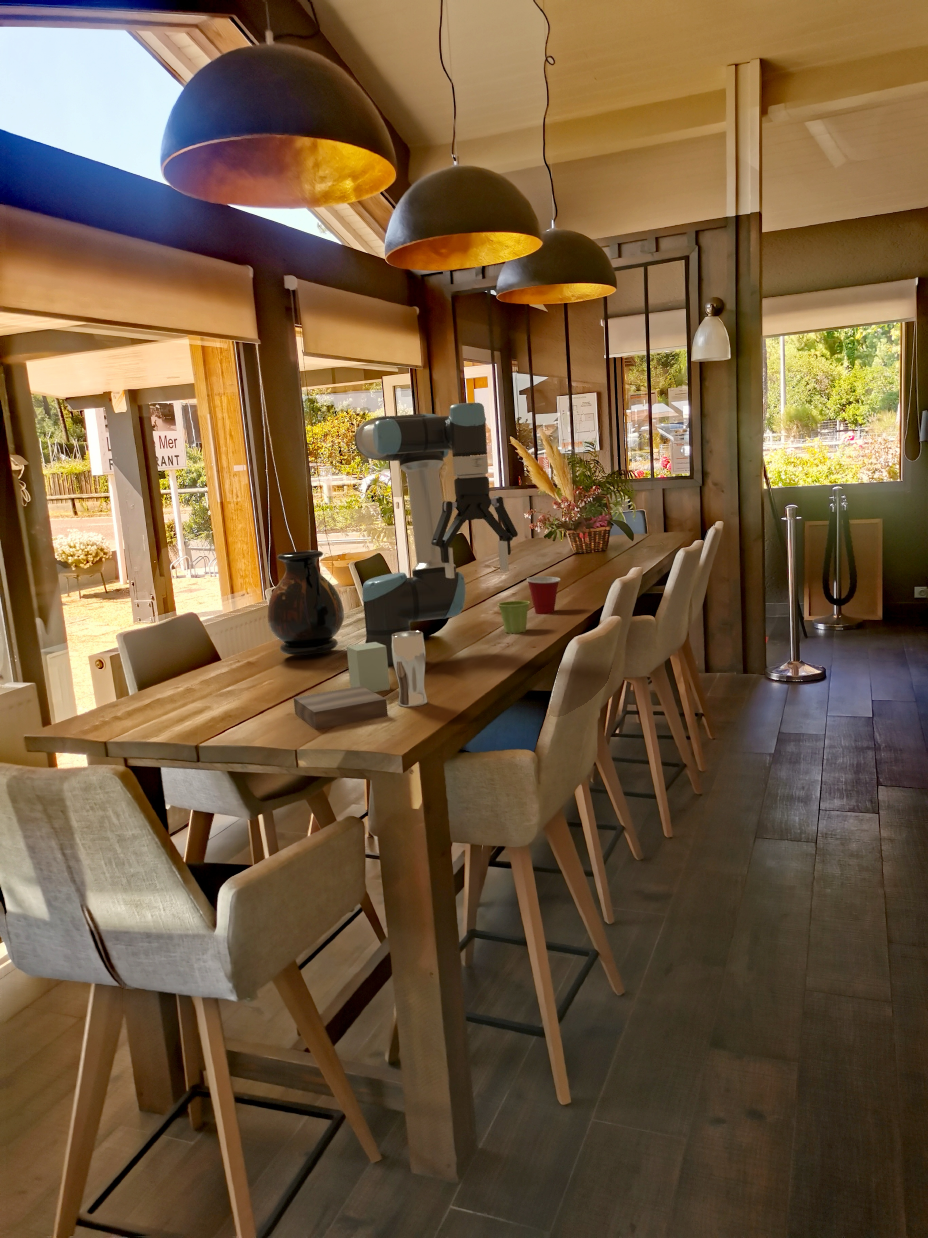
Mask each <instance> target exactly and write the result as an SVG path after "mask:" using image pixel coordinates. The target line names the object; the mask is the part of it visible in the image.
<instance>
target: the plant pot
mask: <svg viewBox="0 0 928 1238" xmlns="http://www.w3.org/2000/svg"><path fill="white" fill-rule="evenodd" d="M530 605H531V601H529V600H510V601H509V600H508V601H502V602H498V603H497V606H498V608H499V611H500V614H501V618H502V619H501V620H502V623H503V628H504V633H505V632H506V633H505V634H509V633H515V634H520V633H525V632H526V631H527V623H528V622H527V621H528V609H529V606H530Z"/></svg>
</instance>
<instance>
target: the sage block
mask: <svg viewBox="0 0 928 1238" xmlns="http://www.w3.org/2000/svg"><path fill="white" fill-rule="evenodd" d="M346 653H347V654H346V655H347V664H348V674H349V688H352V687H358V686H363V687H365V688H366V689H368V690H370V691H372V692H374V693H376V692H383V691H389V690H390V689H391V686H390V676H389V667H388V661H387V650H386V646H385V645H382V644H379V643H377V642H372V643H365V642H364V643H360V644H353V645H347V646H346Z"/></svg>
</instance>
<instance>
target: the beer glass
mask: <svg viewBox="0 0 928 1238" xmlns="http://www.w3.org/2000/svg"><path fill="white" fill-rule="evenodd" d="M392 658H393V664H394V666H393V668H394V670H395V675H396V679H397V683H398V702H397V704H398V706H400V707H404V708H415V707H421V706H424V705H426V704H427V703H428V699H427V698H428V697H427V695H426V690H425V673H426V659H427V658H426V647H425V639H424V633H423V631H420V630H411V631H404V632H398V633H394V634H392Z"/></svg>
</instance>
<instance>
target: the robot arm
mask: <svg viewBox="0 0 928 1238" xmlns="http://www.w3.org/2000/svg"><path fill="white" fill-rule="evenodd" d="M484 407H485V406H484V405H483V404H482V403H480V402H465V403H464V402H461V403H455V404H452V405H450V406H449V415H441V416H439V415H438V414H434V413H422V412H421V413H417V414H415V413H414V414H401V415H383V416H377V417H373V418H371V419H369V420H366V421H364V422H362V423H361V424H360V425H359V426H358V427H357V429H356V431H355V434H354V445H355V447H356V450H357V451H358V452H359V453H360V454H361V455H362V456H364V457H365V458H366V459H367V458H368V459H371V460H374V461H379V462H397V461H398V462H399V468H400V469H401V471H403V472H404V473H405V474H406V479H407V480H406V481H407V489H408V497H409V505H410V514H411V515H410V516H411V523H412V533H413V540H414V550H415V551H414V552H415V559H416V564H415V566H414V568H412V570H411V574H412V576H411V577H408V576H407V574H406V573H405V572H395V573H387V574H384V575H383V574H382V575H380V576H375V577H372V578H369V579H368V580H366V581H364V583H363V586H362V602H363V612H364V623H365V635H366V636H365V637H366V638H365V642H364V644H365V643H372V642H377V643H379V644H382V645H385V646H386V650H387V661H388V668H389V667H390V668H391V667H394V664H393V658H392V634H394V633H398V632H404V631H412V630H411V623H413V622H422V621H431V620H440V619H442V620H443V619H444V620H445V619H447V618H448V619H449V618H453V617H457V616H459V615H460V614H461V613H462V610H463V609H464V605H465V600H466V581H465V577H464V574H463V572H460V571H457V566H456V564H454V553H453V552H454V550H453V547H450V545H451V544H452V542H453V541H454V539H455V537H456V536H457V534H458V533H459V531H460V529H461V528H462V526H463V525H464V524H465V523H466V521H474V520H484V521H485V522H486V523H487V524H488V526H489V527H490V528H491V529H492V531H493V532H495V534H496V535H497V536H498V537H499V538H500V540H498V541H497V545H498V560H499V564H498V565H499V570H500V571H504V572H508V571H510V568H509V567H510V566H509V556H510V555H512V554H511V552H512V551H511V550H512V549H511V542H512V541H513V539H514V538H517V537H518V534H519V533H518V531H517V529H516V527H515V525H514V523H513V521H512V519H511V517H510V516H509V513H508V511H507V510H506V508H505V506H504V505H505V504H504V499H503V498H504V497H503V496H493V497H492V498H491V497H490V492H491V491H490V478H489V477H488V476H487V474H488V473H489V462H488V461H489V460H488V448H487V447H488V446H487V445H488V443H487V428H486V422H487V418H486V414H485V413H486V412H485V408H484ZM449 451H451V453H452V468H453V476H455V477H456V478H455V479H454V480H453V483H454V484H453V485H454V486H453V487H454V495H455V500H454V501H450V500H449V501H448V500H444V501H443V494H442V489H441V488H442V487H441V480H440V469H441V468H442V466H443V465H444V464H445V463H444V459H445V458H447V457H448V455H449ZM490 507H493V508H494V511H495V513H496V515H497V517H498V518H499V521H500V522H501V523H500V522H499V521H498V520H497V519H496V518H495V516H494V514H493V513H492V512H491V511H490ZM455 509H456V511H457V513H456V514H455V516H454V518H453V521H452V523H451V524H450V526H449V523H450V521H451V518H452V514H453V512H454V510H455ZM448 526H449V527H448Z"/></svg>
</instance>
